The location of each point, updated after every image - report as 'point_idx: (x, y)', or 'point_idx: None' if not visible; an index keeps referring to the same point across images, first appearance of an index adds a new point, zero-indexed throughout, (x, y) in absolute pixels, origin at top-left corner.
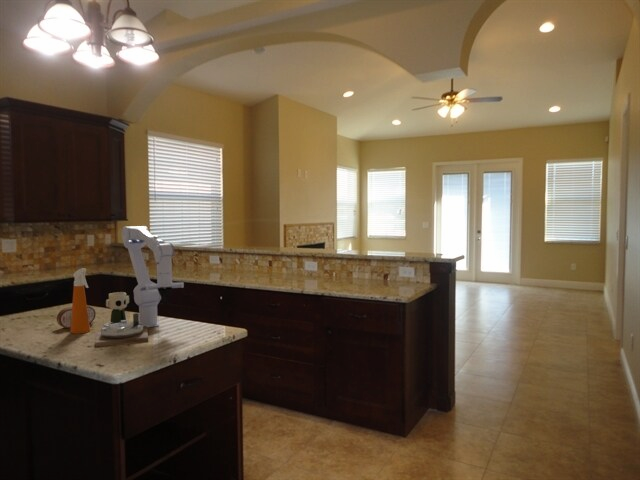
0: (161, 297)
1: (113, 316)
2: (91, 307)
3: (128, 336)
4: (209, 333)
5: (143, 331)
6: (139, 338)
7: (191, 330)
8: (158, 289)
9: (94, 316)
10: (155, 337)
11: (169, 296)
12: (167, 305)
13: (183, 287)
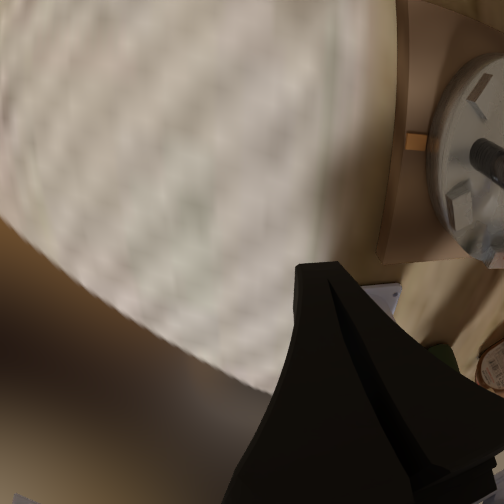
0: (426, 349)
1: (456, 366)
2: (499, 392)
3: (498, 53)
4: (26, 74)
5: (425, 138)
6: (448, 10)
7: (119, 157)
8: (489, 475)
9: (479, 374)
10: (354, 58)
11: (283, 377)
12: (298, 272)
13: (16, 496)
